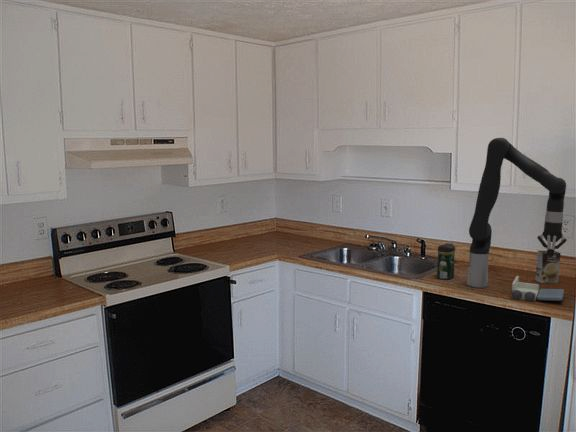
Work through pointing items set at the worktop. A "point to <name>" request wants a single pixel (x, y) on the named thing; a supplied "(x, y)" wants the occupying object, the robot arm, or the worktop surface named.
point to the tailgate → (550, 294)
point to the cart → (524, 290)
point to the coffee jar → (446, 261)
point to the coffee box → (547, 267)
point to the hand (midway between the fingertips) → (550, 256)
